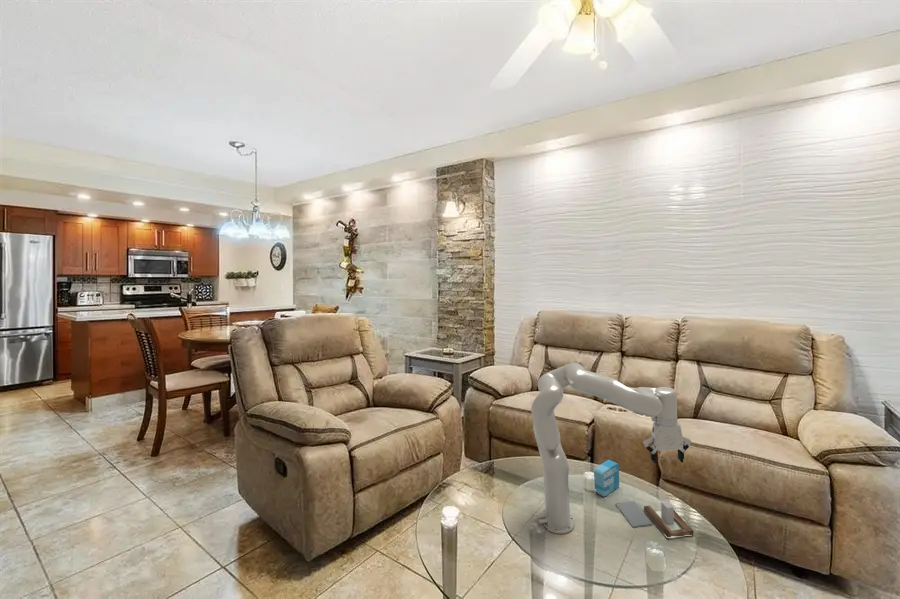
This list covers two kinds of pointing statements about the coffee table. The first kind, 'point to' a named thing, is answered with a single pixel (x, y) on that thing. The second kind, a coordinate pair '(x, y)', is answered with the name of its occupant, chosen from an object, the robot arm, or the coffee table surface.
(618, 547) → the coffee table surface
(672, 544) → the coffee table surface
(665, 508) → the cover plate
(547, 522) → the robot arm
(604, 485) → the data package
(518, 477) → the coffee table surface
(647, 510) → the brown u-shaped frame
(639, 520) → the felt pad
